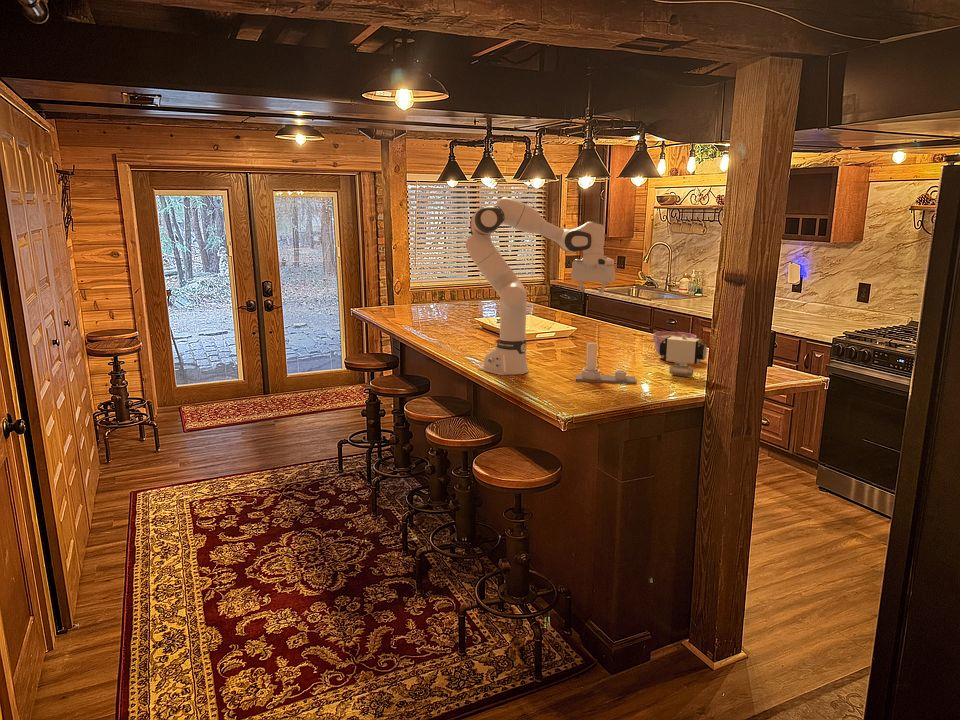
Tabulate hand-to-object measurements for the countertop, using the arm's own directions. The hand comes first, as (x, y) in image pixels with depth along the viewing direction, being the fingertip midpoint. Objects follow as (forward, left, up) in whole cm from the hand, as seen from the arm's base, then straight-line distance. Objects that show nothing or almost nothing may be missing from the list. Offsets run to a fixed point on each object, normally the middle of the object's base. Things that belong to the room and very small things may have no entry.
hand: (591, 291), depth 289 cm
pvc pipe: (+12, -19, -33) cm, 40 cm away
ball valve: (+38, +12, -34) cm, 53 cm away
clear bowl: (+21, +43, -34) cm, 59 cm away
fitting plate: (+17, -16, -34) cm, 41 cm away
